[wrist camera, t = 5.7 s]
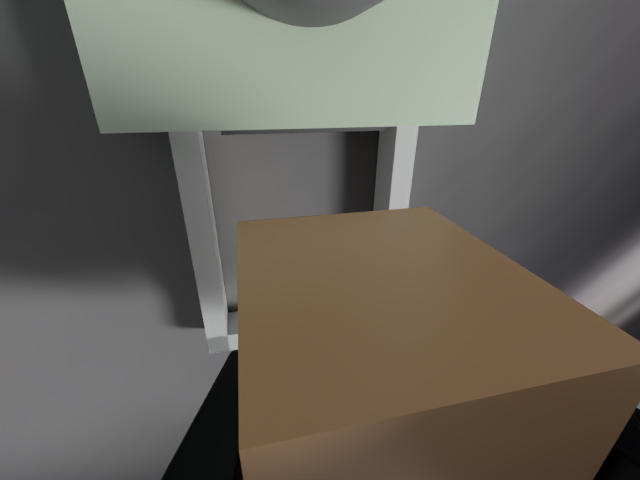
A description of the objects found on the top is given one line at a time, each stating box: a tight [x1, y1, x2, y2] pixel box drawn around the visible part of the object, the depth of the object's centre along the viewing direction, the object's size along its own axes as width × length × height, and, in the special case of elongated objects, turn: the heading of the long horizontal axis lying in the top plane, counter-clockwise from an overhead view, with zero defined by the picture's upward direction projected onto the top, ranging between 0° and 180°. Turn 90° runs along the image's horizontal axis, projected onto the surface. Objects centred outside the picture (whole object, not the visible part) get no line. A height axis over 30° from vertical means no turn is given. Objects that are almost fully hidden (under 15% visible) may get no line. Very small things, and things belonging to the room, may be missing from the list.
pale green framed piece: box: [64, 0, 499, 354], centre depth 9 cm, size 19×11×6 cm, turn 0°
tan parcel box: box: [237, 207, 640, 480], centre depth 7 cm, size 6×4×5 cm
